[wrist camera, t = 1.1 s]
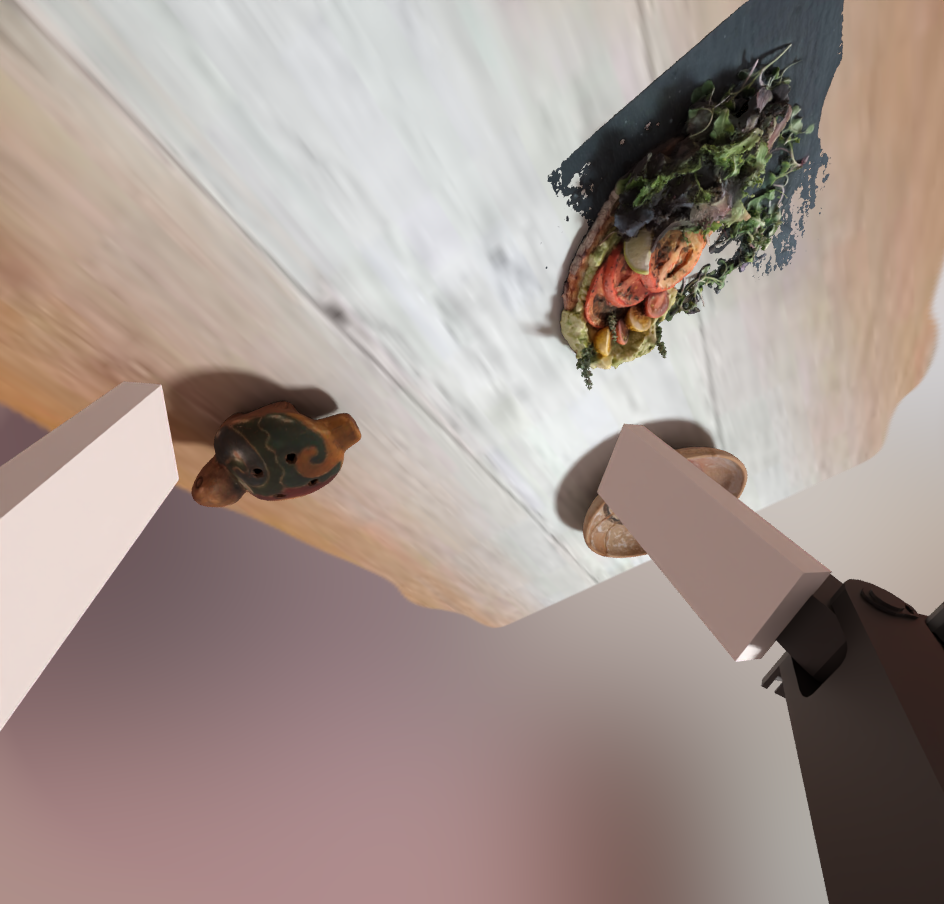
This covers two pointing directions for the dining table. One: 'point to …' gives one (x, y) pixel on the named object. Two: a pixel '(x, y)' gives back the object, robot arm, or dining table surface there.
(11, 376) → the dining table surface
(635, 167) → the plated dish
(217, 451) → the decorative turtle
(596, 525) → the ceramic bowl
